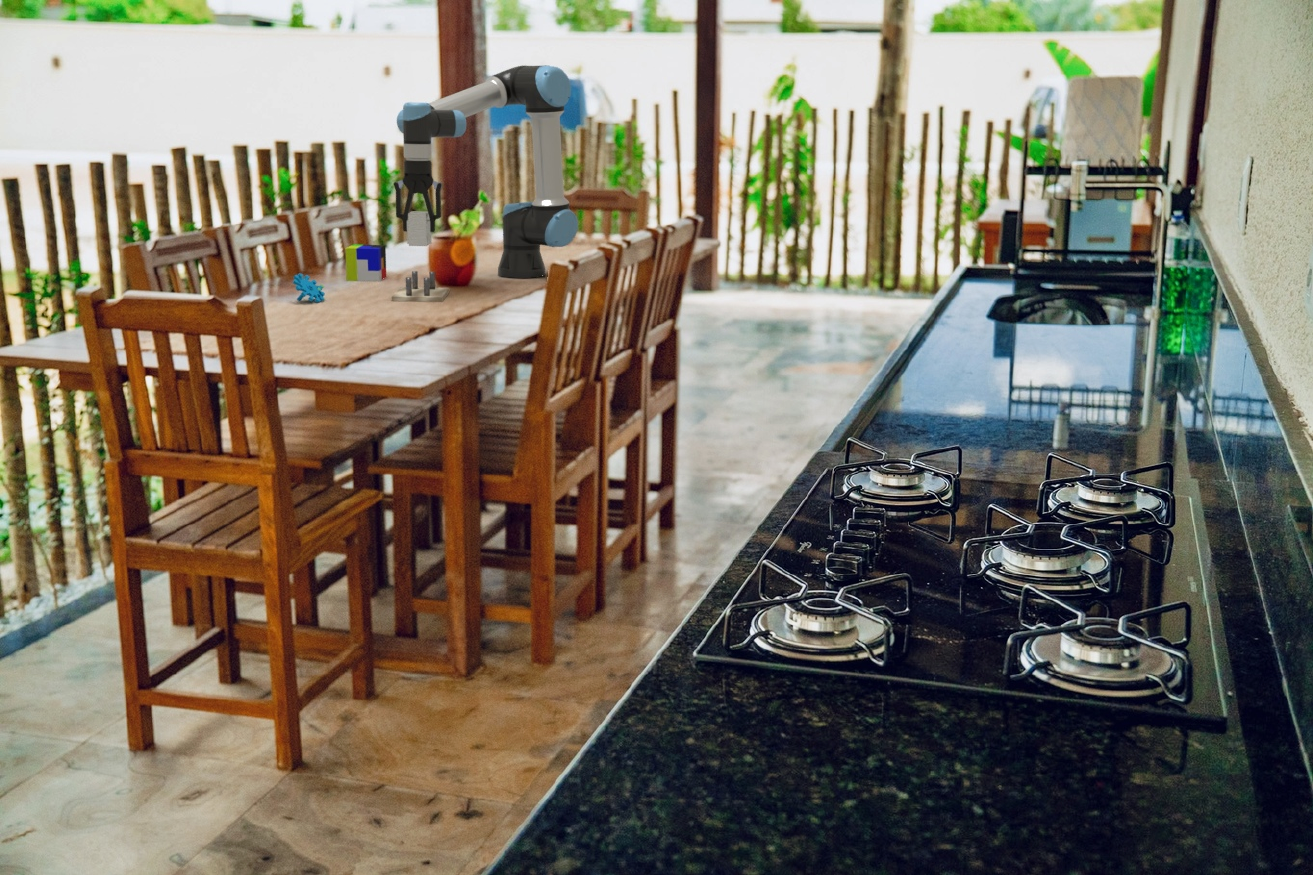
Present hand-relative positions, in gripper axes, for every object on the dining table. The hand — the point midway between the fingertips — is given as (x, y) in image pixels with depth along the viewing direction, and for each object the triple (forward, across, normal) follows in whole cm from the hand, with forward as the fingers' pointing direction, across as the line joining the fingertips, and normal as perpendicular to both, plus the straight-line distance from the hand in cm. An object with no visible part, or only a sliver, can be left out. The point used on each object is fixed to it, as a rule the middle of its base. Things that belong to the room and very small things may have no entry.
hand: (419, 243), depth 373 cm
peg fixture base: (+15, 0, 0) cm, 15 cm away
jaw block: (0, 0, 0) cm, 0 cm away
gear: (+16, +29, +11) cm, 35 cm away
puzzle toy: (+15, +21, -33) cm, 42 cm away
